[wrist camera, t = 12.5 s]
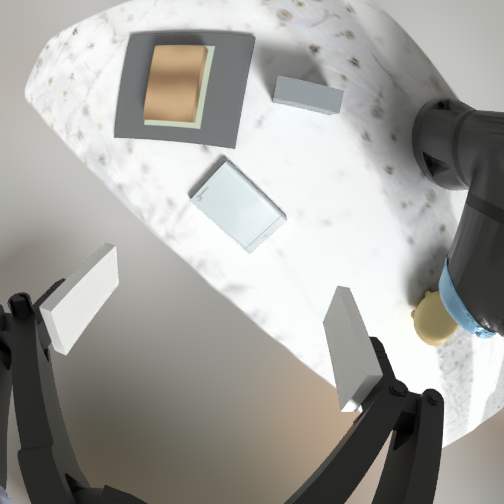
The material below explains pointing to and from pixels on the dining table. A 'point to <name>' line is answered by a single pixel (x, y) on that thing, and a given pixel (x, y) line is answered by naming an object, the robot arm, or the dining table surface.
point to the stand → (307, 95)
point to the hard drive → (238, 207)
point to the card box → (175, 83)
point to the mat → (211, 95)
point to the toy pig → (433, 320)
